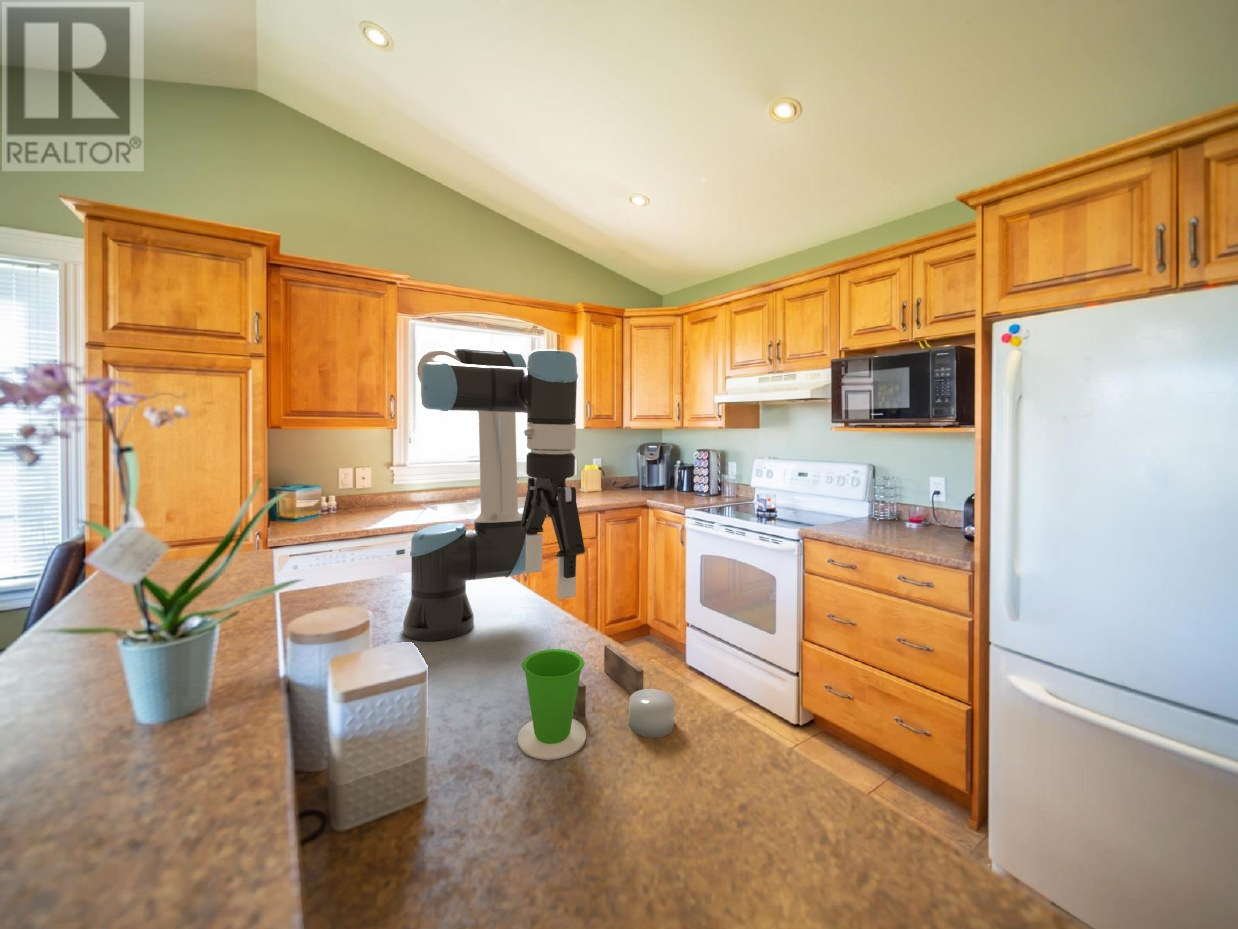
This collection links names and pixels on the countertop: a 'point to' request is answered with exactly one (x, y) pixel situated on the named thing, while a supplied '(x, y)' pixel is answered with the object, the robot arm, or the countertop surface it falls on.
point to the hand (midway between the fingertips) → (548, 584)
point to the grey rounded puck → (651, 713)
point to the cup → (552, 691)
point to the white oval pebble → (551, 751)
